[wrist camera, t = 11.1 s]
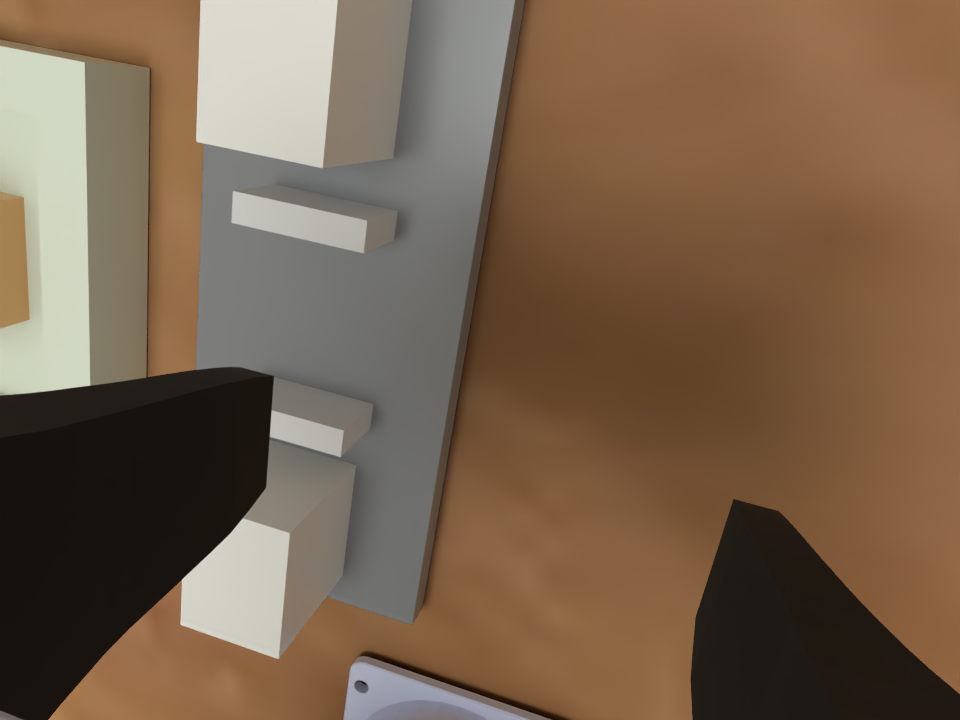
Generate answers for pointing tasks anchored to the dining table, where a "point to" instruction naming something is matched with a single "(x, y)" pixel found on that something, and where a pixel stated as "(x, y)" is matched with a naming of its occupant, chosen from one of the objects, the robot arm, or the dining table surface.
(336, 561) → the block
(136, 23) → the dining table surface
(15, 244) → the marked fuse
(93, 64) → the tray
